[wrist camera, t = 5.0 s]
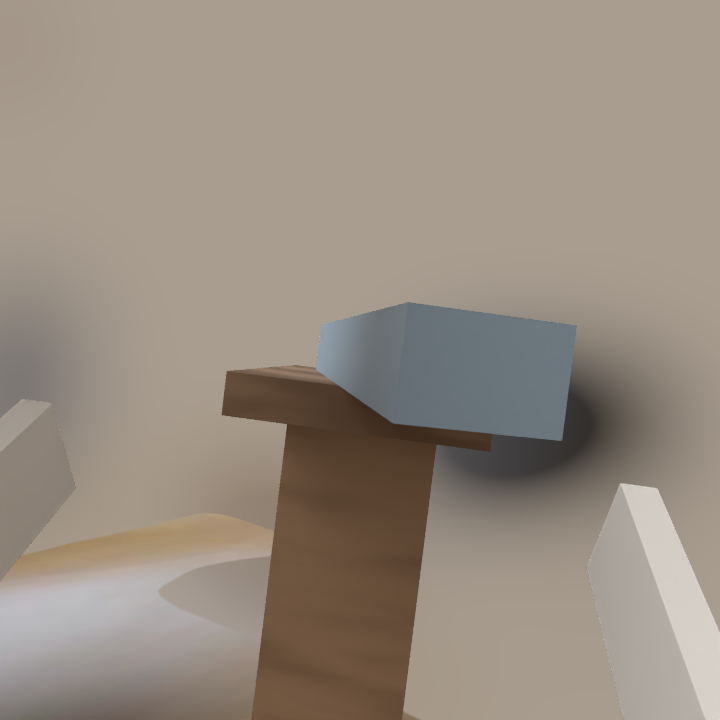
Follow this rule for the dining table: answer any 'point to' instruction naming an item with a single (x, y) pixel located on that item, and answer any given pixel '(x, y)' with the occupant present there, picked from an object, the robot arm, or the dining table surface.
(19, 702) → the dining table surface
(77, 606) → the dining table surface
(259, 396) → the stand
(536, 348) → the bar
